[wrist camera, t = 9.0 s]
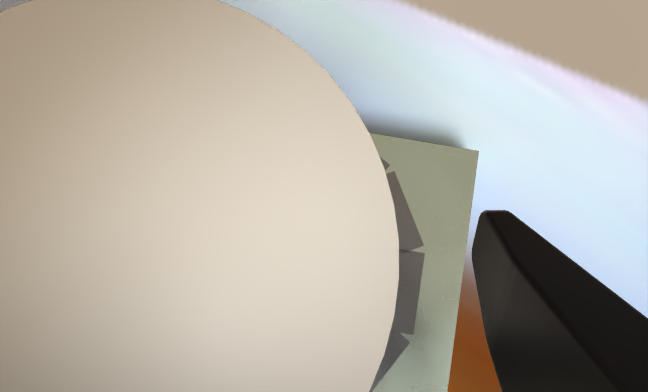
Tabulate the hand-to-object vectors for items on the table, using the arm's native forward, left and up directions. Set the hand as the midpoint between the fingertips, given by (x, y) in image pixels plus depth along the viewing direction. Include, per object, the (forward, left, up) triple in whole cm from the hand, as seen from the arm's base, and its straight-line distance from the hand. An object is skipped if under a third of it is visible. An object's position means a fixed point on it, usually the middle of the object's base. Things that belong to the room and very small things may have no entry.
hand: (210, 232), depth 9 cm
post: (-1, 0, -9) cm, 9 cm away
